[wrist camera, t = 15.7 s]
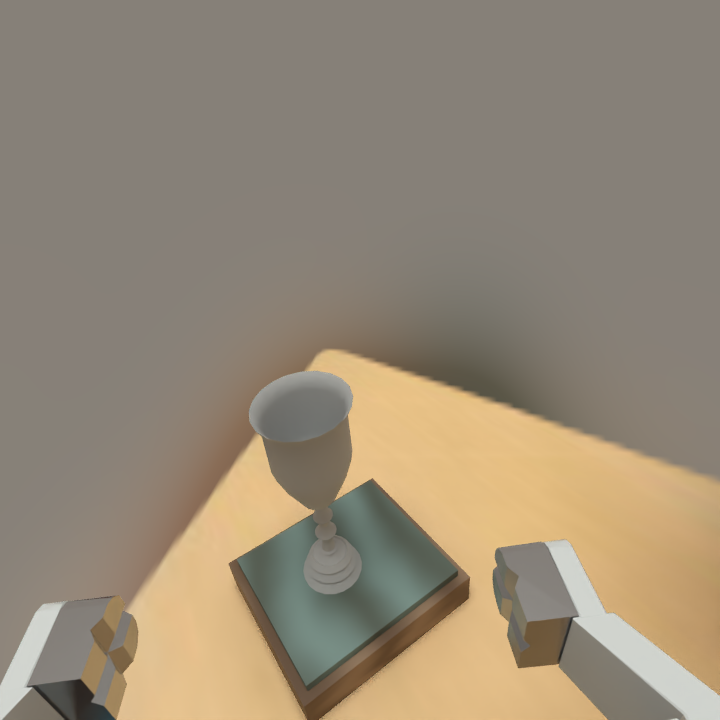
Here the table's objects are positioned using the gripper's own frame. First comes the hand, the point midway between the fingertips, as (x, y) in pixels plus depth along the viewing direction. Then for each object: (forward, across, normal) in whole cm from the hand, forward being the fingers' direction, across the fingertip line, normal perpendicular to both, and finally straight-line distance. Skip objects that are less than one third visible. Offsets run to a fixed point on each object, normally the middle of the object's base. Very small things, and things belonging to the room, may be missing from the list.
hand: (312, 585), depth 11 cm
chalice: (+19, +2, +28) cm, 34 cm away
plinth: (+19, +1, +32) cm, 37 cm away
